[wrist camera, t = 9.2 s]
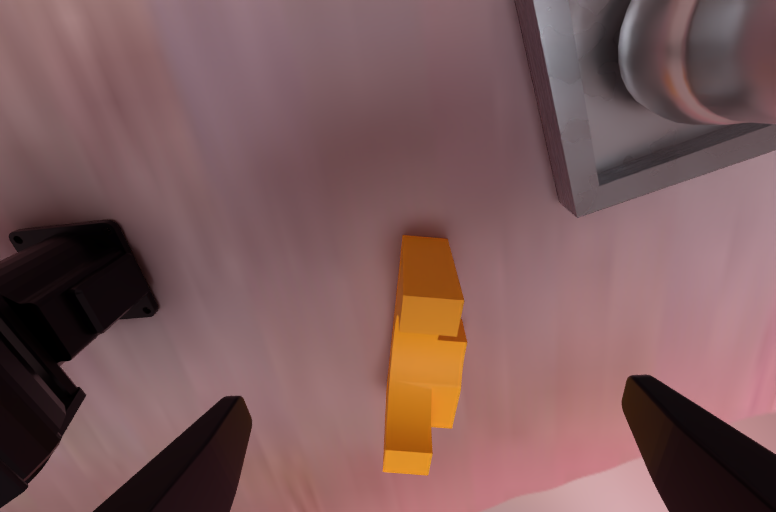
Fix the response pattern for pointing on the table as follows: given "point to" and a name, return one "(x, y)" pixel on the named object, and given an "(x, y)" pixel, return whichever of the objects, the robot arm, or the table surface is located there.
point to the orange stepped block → (423, 354)
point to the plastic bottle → (701, 59)
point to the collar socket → (613, 113)
